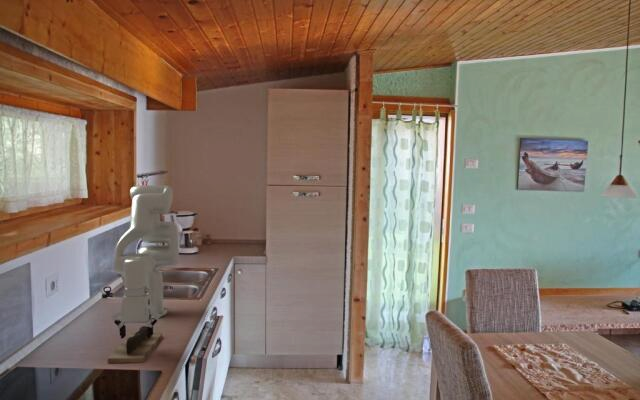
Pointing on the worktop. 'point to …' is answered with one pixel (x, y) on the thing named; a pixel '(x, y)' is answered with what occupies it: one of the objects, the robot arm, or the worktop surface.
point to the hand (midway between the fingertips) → (136, 337)
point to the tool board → (139, 353)
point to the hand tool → (136, 339)
